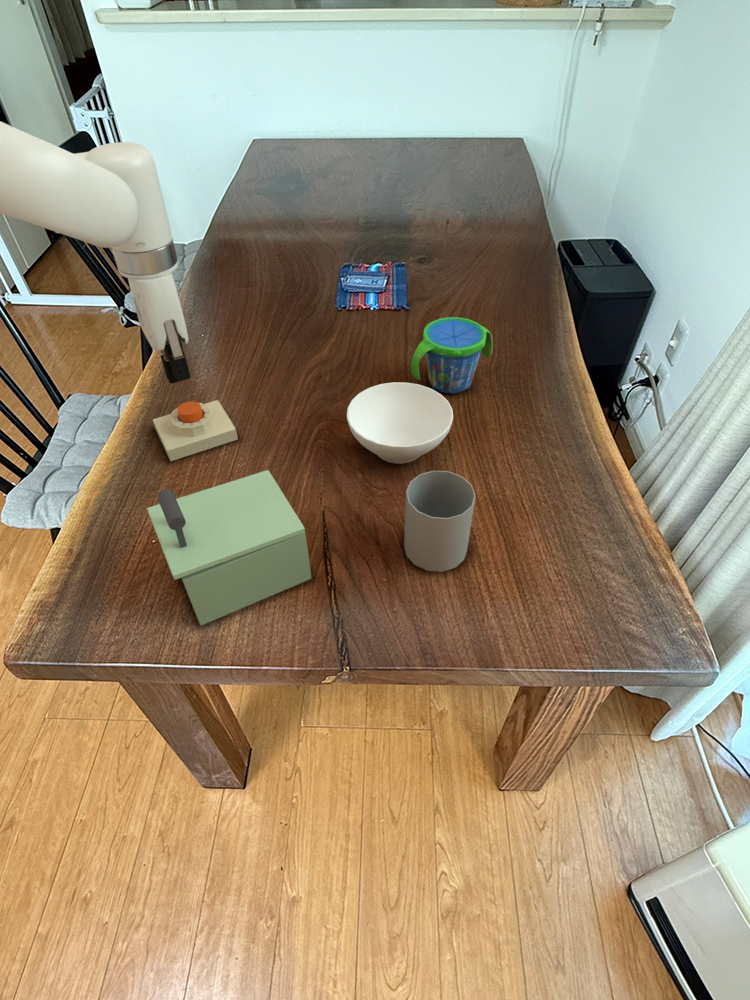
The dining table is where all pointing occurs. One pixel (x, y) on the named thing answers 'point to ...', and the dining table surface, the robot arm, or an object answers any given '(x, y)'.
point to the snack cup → (452, 352)
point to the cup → (438, 520)
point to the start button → (190, 412)
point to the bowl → (399, 420)
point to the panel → (195, 431)
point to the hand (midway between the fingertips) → (178, 378)
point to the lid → (222, 522)
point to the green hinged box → (248, 578)
